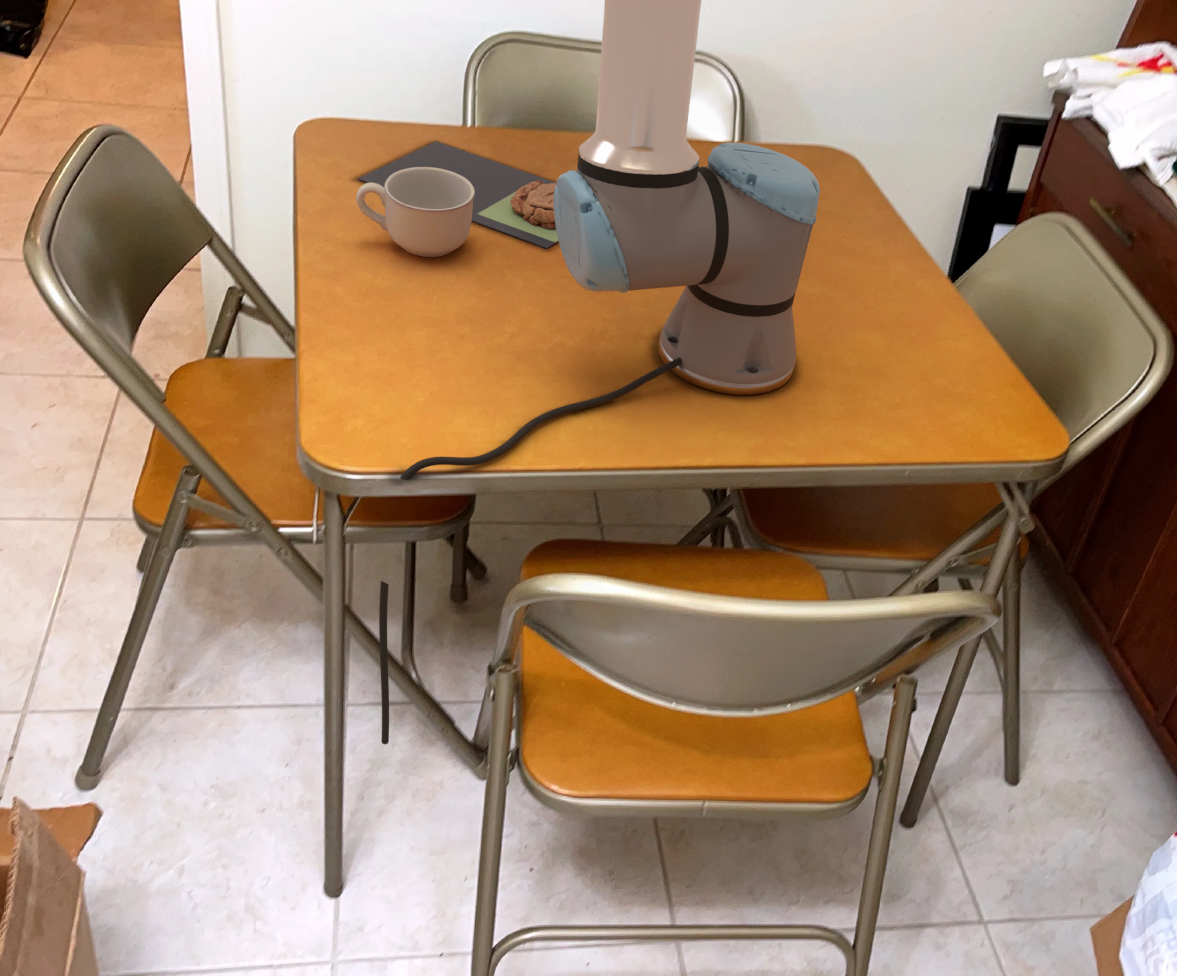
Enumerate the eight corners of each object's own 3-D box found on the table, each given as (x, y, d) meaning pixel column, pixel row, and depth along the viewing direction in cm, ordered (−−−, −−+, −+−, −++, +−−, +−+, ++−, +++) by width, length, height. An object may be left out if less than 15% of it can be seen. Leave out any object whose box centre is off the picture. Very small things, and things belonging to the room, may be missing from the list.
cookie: (540, 235, 144) (542, 214, 142) (496, 202, 150) (498, 181, 149) (602, 222, 149) (605, 201, 147) (558, 190, 155) (560, 170, 154)
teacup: (479, 233, 143) (482, 174, 138) (462, 273, 135) (465, 210, 130) (371, 217, 143) (370, 157, 138) (348, 255, 135) (346, 193, 130)
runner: (546, 249, 142) (547, 247, 142) (357, 179, 152) (357, 178, 152) (614, 204, 155) (614, 202, 155) (436, 142, 164) (436, 141, 164)
